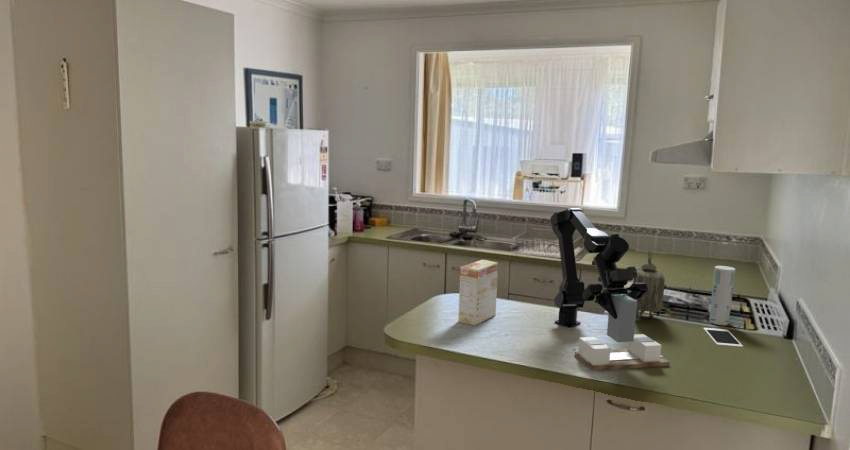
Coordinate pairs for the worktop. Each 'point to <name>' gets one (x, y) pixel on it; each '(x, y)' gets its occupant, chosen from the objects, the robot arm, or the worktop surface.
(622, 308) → the block
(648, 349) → the mounted modules
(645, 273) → the mop head
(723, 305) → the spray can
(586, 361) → the rail board
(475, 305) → the coffeecake box
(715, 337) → the cell phone
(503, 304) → the worktop surface
